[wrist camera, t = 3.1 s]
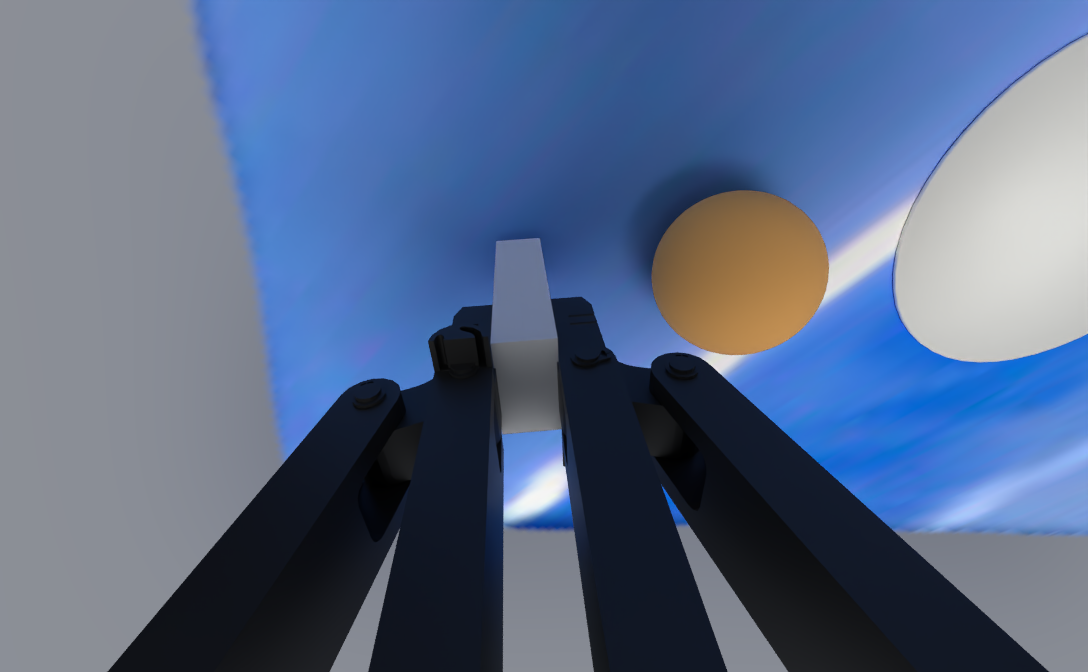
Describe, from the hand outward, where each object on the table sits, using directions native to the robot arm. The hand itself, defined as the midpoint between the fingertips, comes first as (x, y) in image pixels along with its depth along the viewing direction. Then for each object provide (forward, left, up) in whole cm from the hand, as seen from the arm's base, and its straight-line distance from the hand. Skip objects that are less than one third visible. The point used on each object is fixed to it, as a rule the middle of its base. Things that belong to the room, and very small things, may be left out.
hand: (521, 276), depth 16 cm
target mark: (-19, +11, -2) cm, 22 cm away
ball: (-6, +4, +1) cm, 7 cm away
